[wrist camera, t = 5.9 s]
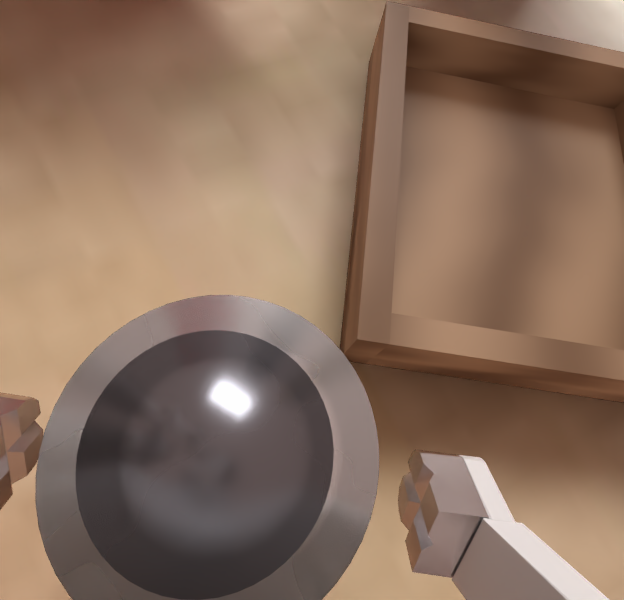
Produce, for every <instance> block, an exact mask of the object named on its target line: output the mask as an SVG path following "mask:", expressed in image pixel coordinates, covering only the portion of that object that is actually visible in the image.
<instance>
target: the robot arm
mask: <svg viewBox="0 0 624 600" xmlns="http://www.w3.org/2000/svg"><path fill="white" fill-rule="evenodd" d="M40 413H41V412H40V406H39V401H38V400H36V399H34V398H32V397H26V396H19V395H13V394H7V393H1V392H0V510H1V508H2V507H3V506H4V505H5V503H6V502H7V501H8V500H9V498H10V497H11V496H12V494H13V491H12V484H13V483H14V482H16V481H18V480H20V479H22V478H24V477H25V476H27V475H28V474H29V472H30V471H31V470H32V468H33V467H34V466H35V464H36V463H37V460H38V457H39V451H40V447H41V444H42V440H43V429H42V428H41V427H40V426H39V425H38V424H37V423H36V422H35V421H34V420H35V419H36V418H37V417H38V416H39V415H40ZM408 463H409V467H410V472H409V473H407V474H406V475H405V476H403V478H402V481H401V484H400V487H399V496H398V506H399V514H400V519H401V522H402V523H403V524H404V525H405V527H406V528H407V529H408V530H409V533H408V535H407V538H406V540H405V542H406V546H407V551H408V555H409V560H410V564H411V569H412V572H416V573H423V574H430V575H437V576H443V577H450V578H452V581H453V582H454V584H455V585H456V587H457V588H458V589H459V591H460V592H461V593H462V595H463V596H464V598H465V599H466V600H609V599H608V598H607V597H606V596H605V595H604V594H602V593H601V592H600V591H599V590H598V589H597V588H596V587H594V586H593V585H592V584H591V583H590V582H589V581H588V580H586V579H585V578H584V577H583V576H582V575H581V574H580V573H579V572H577V571H576V570H575V569H574V568H573V567H572V566H571V565H569V564H568V563H567V562H566V561H565V560H564V559H563V558H561V557H560V556H559V555H558V554H557V553H556V552H555V551H554V550H552V549H551V548H550V547H549V546H548V545H547V544H546V543H544V542H543V541H542V540H541V539H540V538H539V537H538V536H536V535H535V534H534V533H533V532H532V531H531V530H530V529H529V528H527V527H526V526H525V525H524V524H523V523H518V522H515V520H514V518H513V516H512V514H511V512H510V510H509V508H508V506H507V504H506V502H505V500H504V498H503V496H502V494H501V492H500V490H499V488H498V486H497V484H496V482H495V480H494V478H493V476H492V474H491V472H490V470H489V468H488V466H487V464H486V462H485V461H484V460H483V459H482V458H481V457H473V456H464V455H454V454H446V453H438V452H431V451H423V450H414V452H413V453H412V454H411V456H410V459H409V461H408Z"/></svg>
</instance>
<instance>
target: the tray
mask: <svg viewBox="0 0 624 600" xmlns="http://www.w3.org/2000/svg"><path fill="white" fill-rule="evenodd" d="M340 350H341V351H342V352H343V353H344V355H345V356H346V358H347V359H348V361H352V362H358V363H365V364H372V365H378V366H385V367H392V368H398V369H405V370H411V371H418V372H425V373H431V374H438V375H445V376H451V377H458V378H465V379H471V380H478V381H484V382H491V383H498V384H504V385H511V386H518V387H524V388H531V389H538V390H544V391H551V392H558V393H564V394H571V395H577V396H584V397H591V398H597V399H604V400H611V401H617V402H624V52H620V51H615V50H610V49H606V48H601V47H597V46H592V45H587V44H583V43H578V42H574V41H569V40H564V39H560V38H555V37H551V36H546V35H542V34H537V33H532V32H528V31H523V30H519V29H514V28H509V27H505V26H500V25H496V24H491V23H486V22H482V21H477V20H473V19H468V18H464V17H459V16H454V15H450V14H445V13H441V12H436V11H431V10H427V9H422V8H418V7H413V6H408V5H404V4H399V3H395V2H390V1H387V2H386V5H385V9H384V12H383V16H382V19H381V23H380V26H379V30H378V33H377V37H376V40H375V44H374V47H373V50H372V54H371V57H370V61H369V68H368V77H367V87H366V97H365V107H364V117H363V126H362V136H361V146H360V156H359V165H358V175H357V185H356V195H355V205H354V214H353V224H352V234H351V244H350V253H349V263H348V273H347V283H346V293H345V302H344V312H343V322H342V332H341V341H340Z"/></svg>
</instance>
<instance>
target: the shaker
mask: <svg viewBox="0 0 624 600" xmlns="http://www.w3.org/2000/svg"><path fill="white" fill-rule="evenodd" d="M378 477H379V444H378V436H377V428H376V424H375V419H374V415H373V411H372V407H371V404H370V402H369V399H368V396H367V394H366V391H365V388H364V386H363V384H362V383H361V381H360V379H359V377H358V375H357V373H356V371H355V369H354V368H353V366H352V365H351V364H350V362H349V361H348V359H347V358H346V356H345V355H344V353H343V352H342V351H341V350H340V349H339V348H338V347H337V346H336V345H335V343H334V342H333V341H332V340H331V339H330V338H329V337H328V336H327V335H325V334H324V333H323V332H322V331H321V330H320V329H318V328H317V327H316V326H315V325H313V324H312V323H310V322H309V321H307V320H306V319H304V318H303V317H301V316H300V315H298V314H296V313H294V312H292V311H290V310H288V309H286V308H284V307H281V306H278V305H275V304H273V303H270V302H267V301H263V300H259V299H254V298H250V297H243V296H233V295H208V296H201V297H194V298H188V299H184V300H180V301H176V302H173V303H169V304H166V305H164V306H161V307H159V308H156V309H154V310H151V311H149V312H147V313H145V314H143V315H141V316H139V317H138V318H136V319H134V320H132V321H130V322H129V323H127V324H126V325H124V326H123V327H121V328H120V329H119V330H117V331H116V332H114V333H113V334H112V335H110V336H109V337H108V338H107V339H106V340H105V341H104V342H102V343H101V344H100V345H99V346H98V347H97V348H96V349H95V350H94V351H93V352H92V353H91V354H90V355H89V356H88V357H87V359H86V360H85V361H84V362H83V363H82V364H81V365H80V366H79V368H78V369H77V371H76V372H75V373H74V375H73V376H72V378H71V379H70V380H69V382H68V383H67V385H66V386H65V388H64V390H63V392H62V394H61V395H60V397H59V399H58V401H57V403H56V404H55V406H54V409H53V411H52V414H51V416H50V419H49V421H48V424H47V426H46V429H45V432H44V436H43V440H42V444H41V447H40V451H39V457H38V464H37V471H36V509H37V517H38V525H39V530H40V533H41V537H42V540H43V544H44V548H45V551H46V554H47V556H48V558H49V560H50V562H51V565H52V567H53V569H54V571H55V574H56V576H57V577H58V579H59V580H60V582H61V583H62V585H63V586H64V588H65V589H66V591H67V593H68V594H69V596H70V597H71V598H72V599H73V600H322V599H323V598H324V597H325V596H326V594H327V593H328V592H329V591H330V590H331V589H332V588H333V587H334V585H335V584H336V583H337V582H338V580H339V579H340V577H341V576H342V574H343V573H344V572H345V570H346V569H347V567H348V566H349V564H350V563H351V561H352V559H353V557H354V555H355V553H356V551H357V549H358V548H359V546H360V544H361V542H362V540H363V537H364V534H365V532H366V529H367V526H368V524H369V521H370V518H371V514H372V510H373V506H374V502H375V498H376V493H377V485H378Z"/></svg>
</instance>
